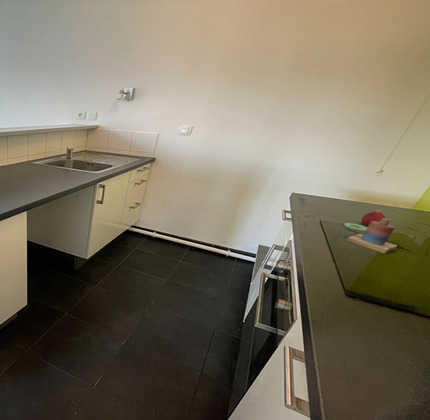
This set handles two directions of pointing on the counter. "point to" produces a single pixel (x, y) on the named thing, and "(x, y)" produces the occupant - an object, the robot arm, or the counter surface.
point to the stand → (375, 236)
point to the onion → (372, 217)
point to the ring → (355, 227)
